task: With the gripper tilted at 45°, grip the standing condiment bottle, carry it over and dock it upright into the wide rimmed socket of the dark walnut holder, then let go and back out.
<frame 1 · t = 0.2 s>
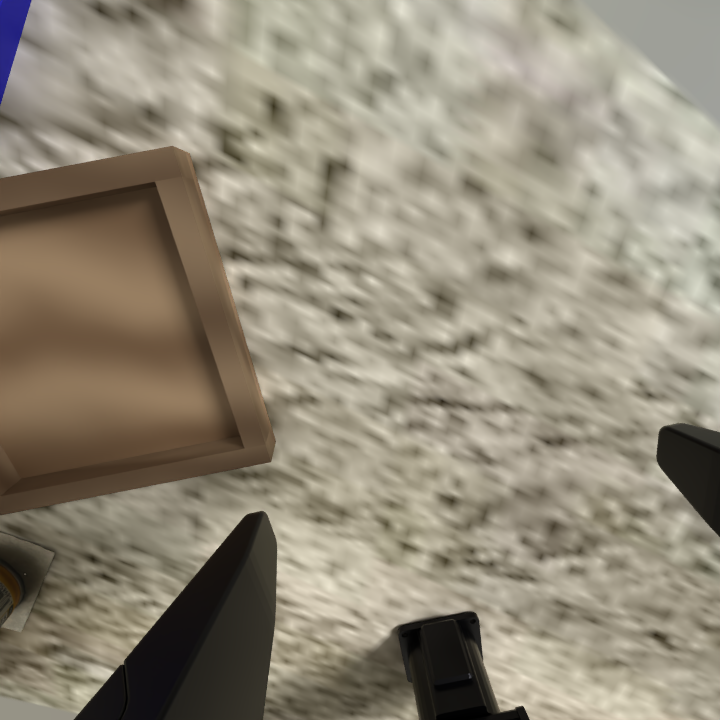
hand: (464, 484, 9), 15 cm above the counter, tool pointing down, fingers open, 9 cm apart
dock holder: (92, 344, 22), on the counter
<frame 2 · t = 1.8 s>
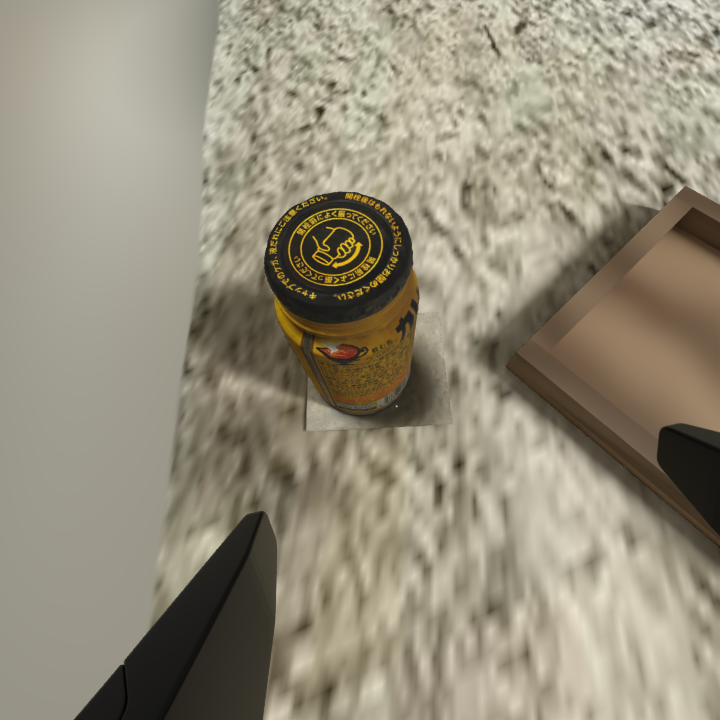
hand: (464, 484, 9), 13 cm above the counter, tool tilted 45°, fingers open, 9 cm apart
dock holder: (711, 369, 23), on the counter
condiment: (375, 371, 24), on the counter
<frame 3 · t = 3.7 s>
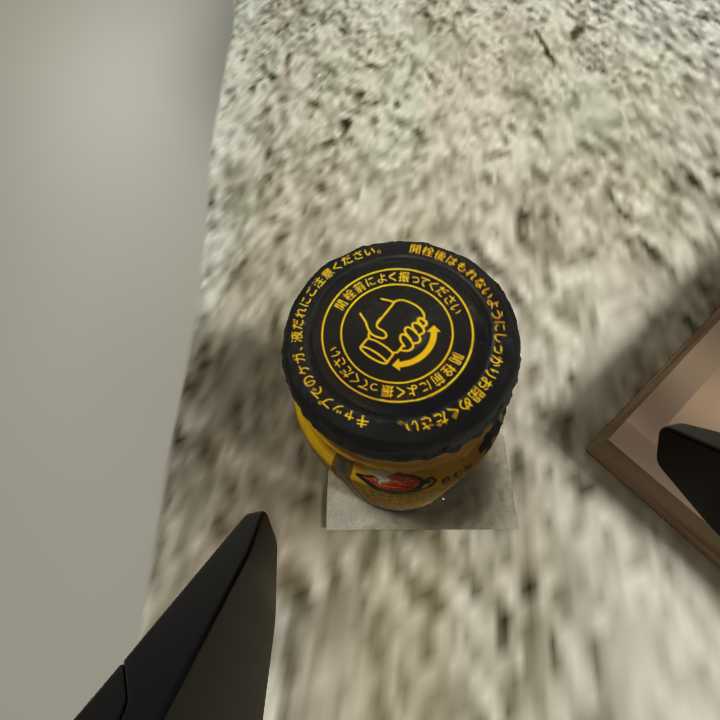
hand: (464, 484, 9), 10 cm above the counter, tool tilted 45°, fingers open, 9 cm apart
condiment: (414, 448, 19), on the counter
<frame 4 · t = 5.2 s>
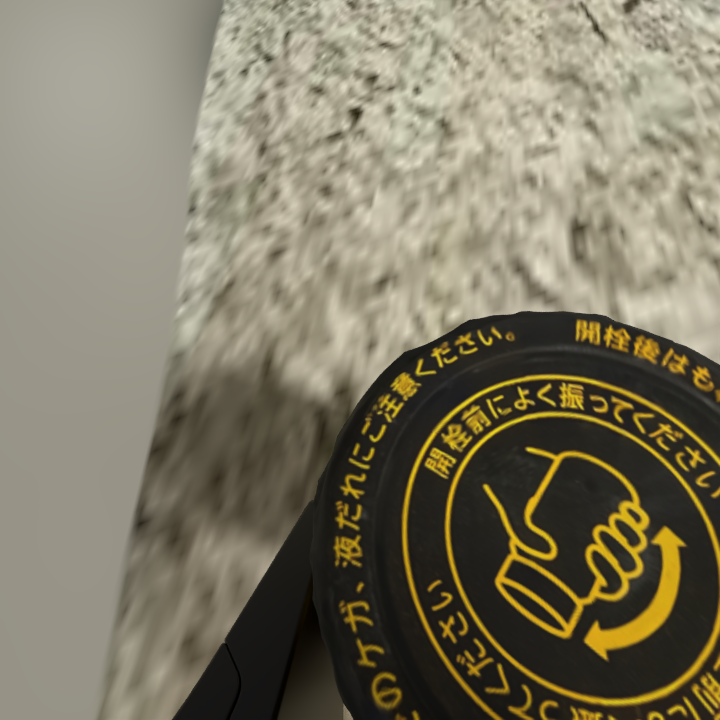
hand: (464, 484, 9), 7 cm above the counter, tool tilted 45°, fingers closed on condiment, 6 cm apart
condiment: (467, 536, 15), on the counter, touching gripper
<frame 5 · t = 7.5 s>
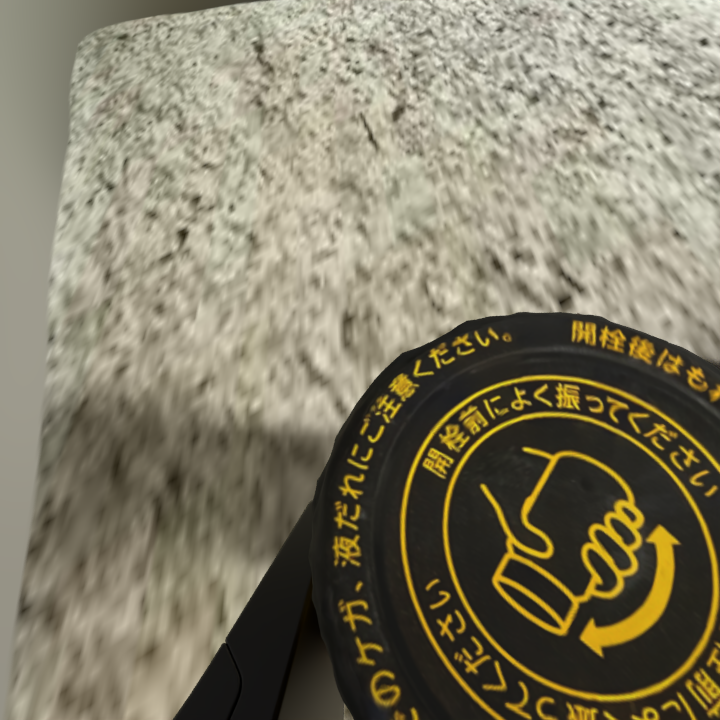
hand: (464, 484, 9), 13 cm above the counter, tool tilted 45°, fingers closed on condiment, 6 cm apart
condiment: (465, 535, 15), point 6 cm above the counter, touching gripper
when the fingers open (8 cm above the counter, at t = 9.8 s): condiment stays where it is, resting on dock holder.
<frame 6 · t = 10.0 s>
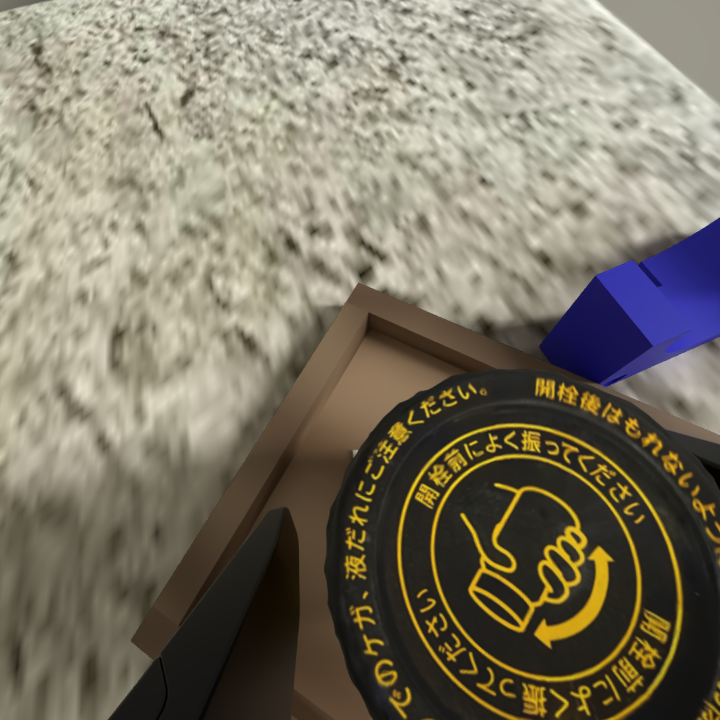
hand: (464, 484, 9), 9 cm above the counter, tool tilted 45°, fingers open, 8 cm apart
dock holder: (440, 538, 16), on the counter
condiment: (459, 541, 16), resting on dock holder
cable clip: (651, 316, 20), on the counter
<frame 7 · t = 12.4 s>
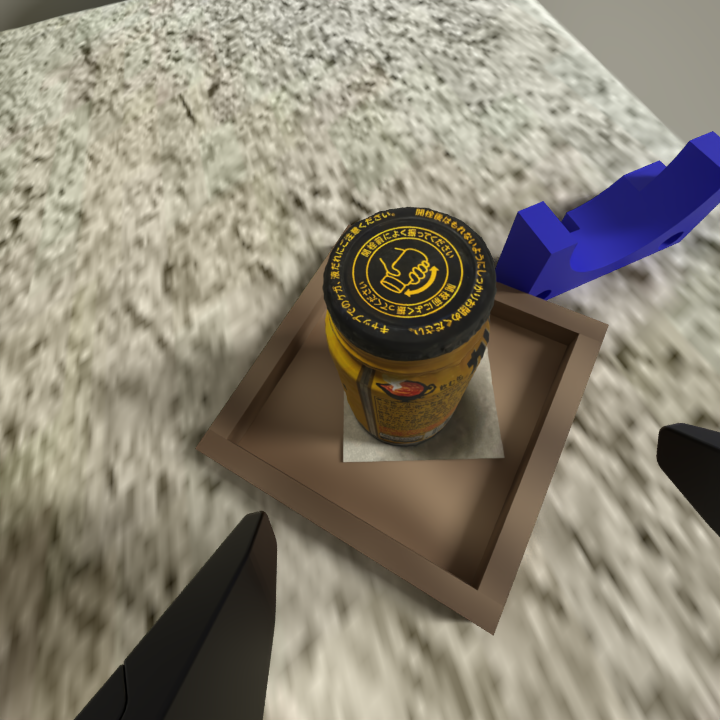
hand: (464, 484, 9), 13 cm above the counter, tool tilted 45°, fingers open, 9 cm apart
dock holder: (404, 397, 23), on the counter
condiment: (417, 396, 23), resting on dock holder
cable clip: (576, 254, 26), on the counter
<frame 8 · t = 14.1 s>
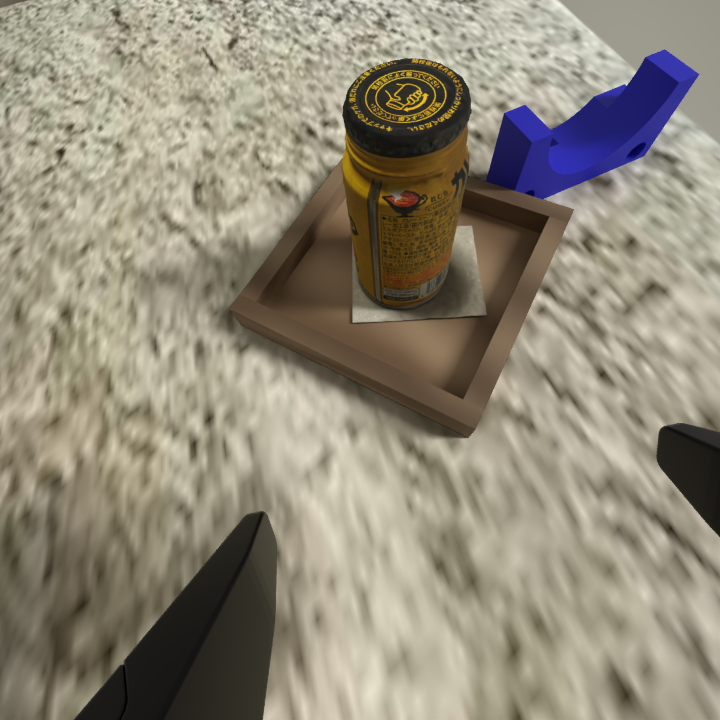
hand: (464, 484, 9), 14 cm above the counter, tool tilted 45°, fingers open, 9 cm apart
dock holder: (403, 278, 27), on the counter
condiment: (414, 275, 27), resting on dock holder
cable clip: (556, 169, 30), on the counter
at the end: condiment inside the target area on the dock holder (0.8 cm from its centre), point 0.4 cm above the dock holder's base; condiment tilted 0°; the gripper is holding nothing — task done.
